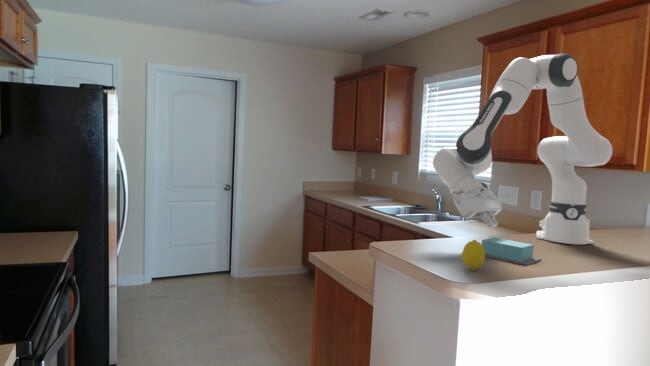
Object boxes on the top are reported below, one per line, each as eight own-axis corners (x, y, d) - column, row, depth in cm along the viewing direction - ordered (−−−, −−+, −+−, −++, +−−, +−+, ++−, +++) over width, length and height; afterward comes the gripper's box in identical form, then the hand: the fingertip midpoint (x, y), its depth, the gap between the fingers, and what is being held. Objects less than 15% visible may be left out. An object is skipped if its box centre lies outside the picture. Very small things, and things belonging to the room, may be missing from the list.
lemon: (465, 266, 117) (467, 236, 117) (486, 270, 114) (488, 240, 114) (458, 270, 113) (460, 239, 112) (480, 274, 110) (482, 243, 109)
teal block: (482, 239, 133) (521, 247, 124) (494, 237, 139) (533, 244, 130) (481, 252, 134) (520, 261, 125) (493, 249, 139) (532, 258, 130)
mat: (482, 255, 132) (482, 254, 132) (498, 251, 139) (498, 250, 139) (526, 265, 123) (526, 263, 123) (541, 260, 129) (541, 259, 129)
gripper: (456, 185, 132) (485, 222, 126) (489, 184, 146) (516, 217, 140) (442, 198, 136) (469, 235, 129) (476, 196, 150) (501, 229, 143)
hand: (494, 226), depth 135 cm, fingers closed
